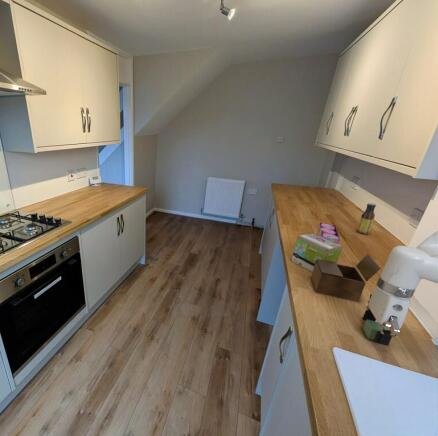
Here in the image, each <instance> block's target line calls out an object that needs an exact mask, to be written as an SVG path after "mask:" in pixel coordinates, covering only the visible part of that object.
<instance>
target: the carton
mask: <svg viewBox="0 0 438 436" xmlns="http://www.w3.org/2000/svg"><path fill="white" fill-rule="evenodd" d="M310 278H311V281H312V284H313V288H314V290H315V293H318V294H322V295H327V296H330V297H334V298H340V299H343V300H347V301H352V302H356V303H359V302H360V299H361V296H362V294H363V291H364V289H365V286H366V283H367V281H366V280H365V279H364V277H363V276H362V274H361V273H360V272H359V270H358V269H357V267H356V266H349V265H344V264H339V263H337V264H336V262H331V261H326V260H321V259H317V260H316V262H315V265H314V269H313V272H311V276H310Z"/></svg>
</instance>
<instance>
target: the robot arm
mask: <svg viewBox="0 0 438 436" xmlns="http://www.w3.org/2000/svg"><path fill="white" fill-rule="evenodd" d="M421 280H425V281H429V282H432V283H435V284H438V230H437V231H436V232H434V233H432V234H431V235H430V236H428V237H427V238H426V239H425V240H423V241H422V242H421V243H420V244H419V245H417V246H416V247H413V246H412V247H411V246H407V245H397V246H394V247H393V248H392V249H391V251H390V253H389V255H388V257H387V260H386V261H385V264H384V266H383V269H382V271H381V274H380V276H379V278H378V280H377V282H376V284H375V285H376V287H375V289H374V290H373V292H372V293H370V294H369V300H368V301H367V306H366V308H365V311H364V314H363V316H362V318H361V319H362V321H364V322H366V320H371V321H375V322H379V323H380V331H378V332H377V334H376V336H375V338H374V340H373V342H374V343H375V344H380V345H383V346H389V344H390V342H391V340H392V338H394V337H396V336H397V335H398V334H400V332H401V330H400V329H401V328H402V326H403V324H404V322H405V320H406V318H407V315H408V311H409V308H410V303H411V299H412V298H413V295H414V294H415V292H416V290H417V288H418V286H419V284H420V282H421ZM385 326H386V327H387V328H389V329H388V330H385Z"/></svg>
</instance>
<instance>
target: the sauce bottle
mask: <svg viewBox="0 0 438 436" xmlns="http://www.w3.org/2000/svg"><path fill="white" fill-rule="evenodd" d="M376 207H377V204H376V203H369V202H368V203H367V204H366V208H365V210H364V211H363V213H362V214H361V216H360V219H359V222H358V226H357V231H356V232H357V233H359V234H361V235H369V234H370V232H371V229H372V226H373V223H374V220H375V216H376V214H375V208H376Z"/></svg>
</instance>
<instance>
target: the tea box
mask: <svg viewBox="0 0 438 436" xmlns="http://www.w3.org/2000/svg"><path fill="white" fill-rule="evenodd" d="M342 250H343V245H341V244H340V243H339V244H337V243H334V242H332V241H329V240H327V239H325V238H322V237H320V236H317V235H316V234H315V233H312V232H311V233H305V234H300V235H297V238H296V240H295V245H294V248H293V252H292V257H291V261H292V262H293V263H295V264H297V265H299V266H300V267H302V268H304V269H306V270H308V271H309V272H311V273H312V272H313V269H314V265H315V262H316V260H317V259H321V260H326V261H331V262H336V264H338V262H339V258H340V256H341V252H342Z"/></svg>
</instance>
